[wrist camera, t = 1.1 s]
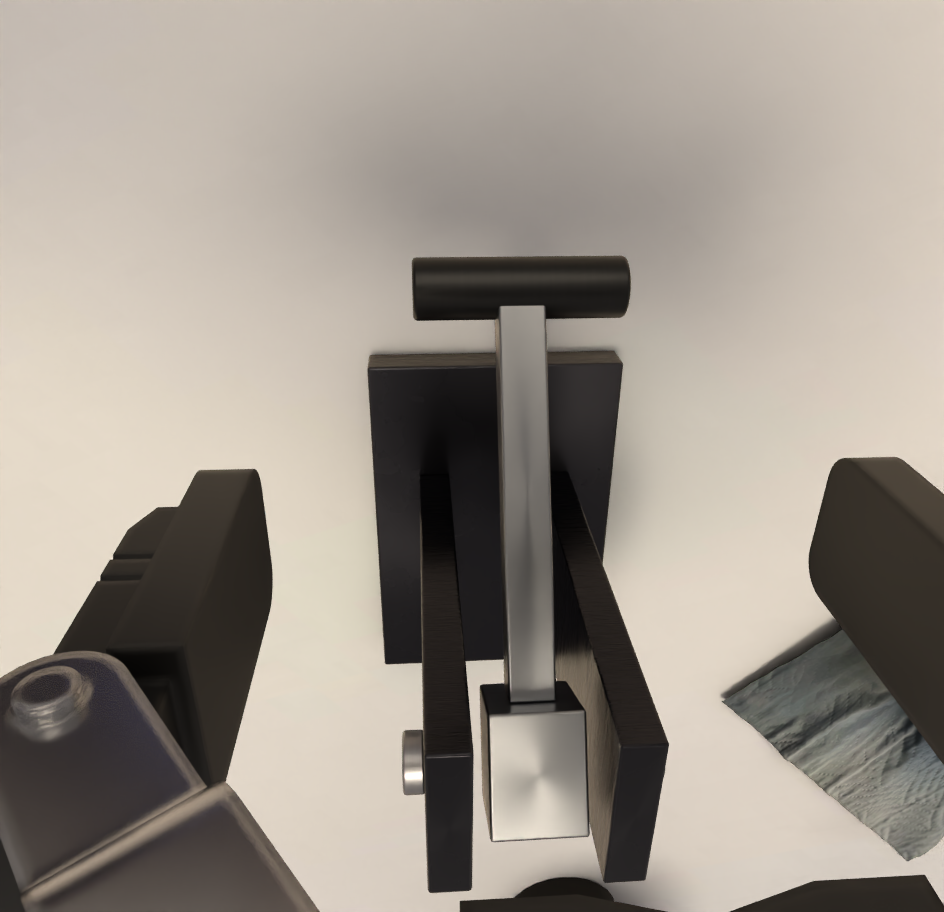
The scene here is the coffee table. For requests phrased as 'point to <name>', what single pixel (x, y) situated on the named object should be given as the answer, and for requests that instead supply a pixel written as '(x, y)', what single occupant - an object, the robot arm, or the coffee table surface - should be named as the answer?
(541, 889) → the cup
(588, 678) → the bracket
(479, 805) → the coffee table surface
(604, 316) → the lever
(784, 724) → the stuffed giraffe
